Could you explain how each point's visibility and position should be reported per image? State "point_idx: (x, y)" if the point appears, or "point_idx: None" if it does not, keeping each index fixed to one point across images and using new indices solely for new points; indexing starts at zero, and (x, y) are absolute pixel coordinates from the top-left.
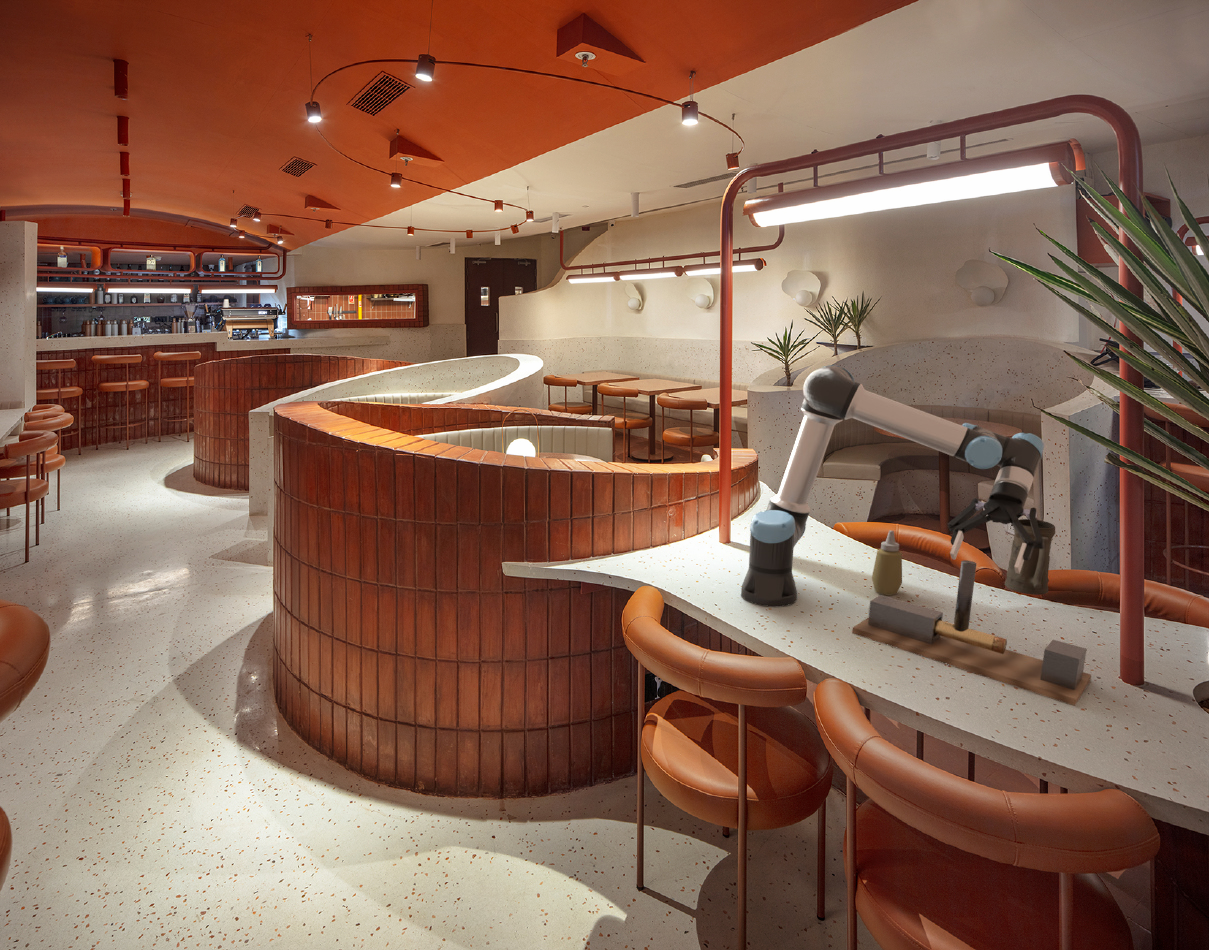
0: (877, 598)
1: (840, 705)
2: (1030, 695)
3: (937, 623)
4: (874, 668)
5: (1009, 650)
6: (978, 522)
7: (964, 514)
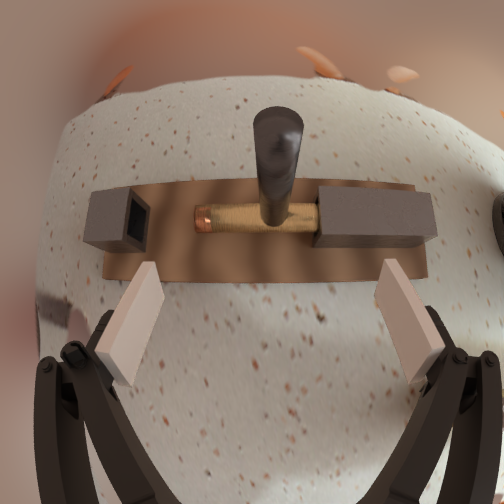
0: (430, 213)
1: (306, 50)
2: (160, 177)
3: (315, 205)
4: (330, 114)
5: (204, 281)
6: (393, 464)
7: (484, 443)
